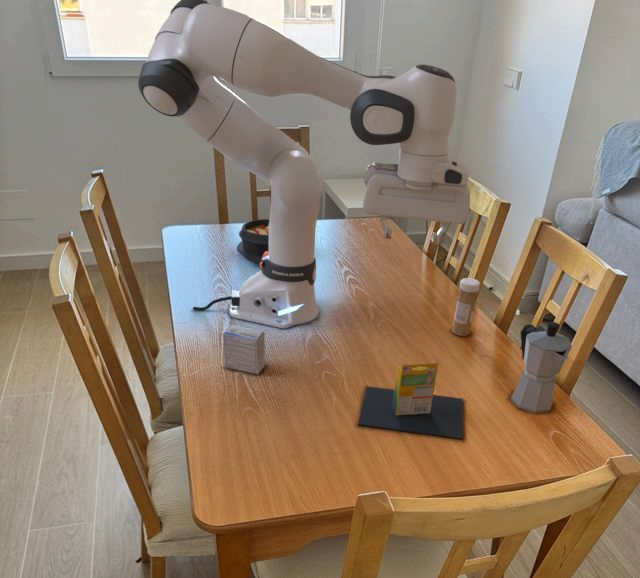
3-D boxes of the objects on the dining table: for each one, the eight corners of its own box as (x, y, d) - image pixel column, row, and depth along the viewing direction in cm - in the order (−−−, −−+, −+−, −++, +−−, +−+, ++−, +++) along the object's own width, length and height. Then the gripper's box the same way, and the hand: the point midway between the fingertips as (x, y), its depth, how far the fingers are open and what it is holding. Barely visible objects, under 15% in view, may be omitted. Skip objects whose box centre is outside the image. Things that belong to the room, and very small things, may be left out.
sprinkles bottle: (473, 334, 156) (484, 282, 148) (460, 338, 153) (470, 286, 145) (460, 326, 159) (470, 275, 151) (447, 330, 156) (456, 279, 148)
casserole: (306, 268, 184) (307, 240, 179) (242, 271, 180) (241, 243, 175) (289, 238, 204) (289, 212, 199) (231, 241, 200) (230, 214, 195)
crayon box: (425, 405, 128) (434, 355, 121) (430, 413, 126) (439, 363, 119) (391, 407, 127) (398, 357, 120) (395, 416, 125) (402, 365, 118)
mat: (358, 425, 122) (358, 424, 122) (366, 387, 133) (366, 386, 133) (462, 440, 120) (462, 438, 120) (461, 400, 131) (462, 398, 131)
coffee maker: (567, 415, 128) (593, 337, 118) (529, 421, 126) (553, 341, 115) (527, 377, 140) (548, 303, 129) (492, 382, 137) (510, 306, 127)
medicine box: (265, 365, 139) (265, 330, 134) (257, 375, 135) (256, 339, 130) (233, 358, 141) (231, 323, 136) (224, 368, 137) (222, 332, 132)
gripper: (363, 165, 115) (357, 240, 123) (477, 176, 113) (462, 251, 121) (367, 157, 120) (360, 229, 128) (476, 168, 118) (462, 240, 126)
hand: (411, 240), depth 124 cm, fingers open, 8 cm apart
